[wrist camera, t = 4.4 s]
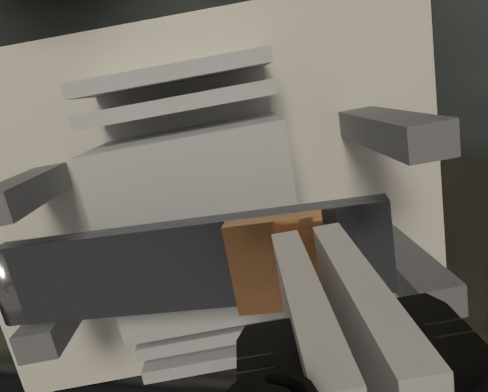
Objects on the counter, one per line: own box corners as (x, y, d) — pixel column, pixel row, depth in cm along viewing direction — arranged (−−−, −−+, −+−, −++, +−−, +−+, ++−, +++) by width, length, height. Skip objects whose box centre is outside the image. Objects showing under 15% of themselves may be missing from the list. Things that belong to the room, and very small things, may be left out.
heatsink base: (34, 383, 25) (-71, 546, 16) (-80, 65, 20) (-314, 49, 11) (440, 310, 25) (558, 432, 16) (418, -27, 20) (567, -114, 11)
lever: (19, 312, 17) (-9, 336, 15) (-6, 241, 16) (-38, 259, 14) (392, 277, 14) (402, 302, 13) (384, 191, 13) (393, 206, 12)
